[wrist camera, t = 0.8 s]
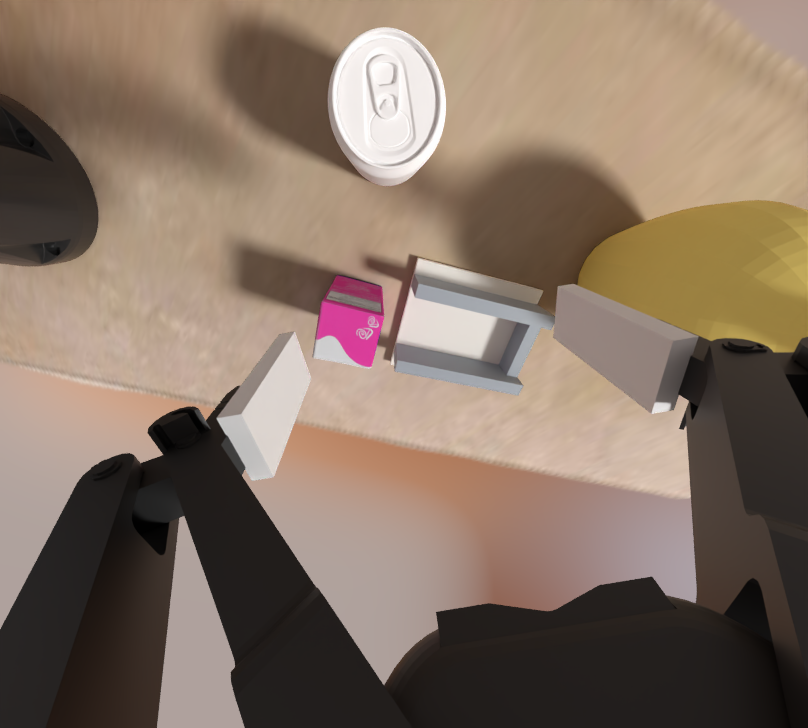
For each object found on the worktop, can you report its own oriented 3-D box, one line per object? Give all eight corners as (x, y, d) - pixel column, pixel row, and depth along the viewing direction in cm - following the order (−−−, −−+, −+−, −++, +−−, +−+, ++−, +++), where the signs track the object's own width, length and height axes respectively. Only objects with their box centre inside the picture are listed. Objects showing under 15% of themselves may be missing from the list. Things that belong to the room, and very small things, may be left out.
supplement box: (374, 329, 39) (370, 372, 29) (328, 318, 38) (307, 358, 28) (384, 285, 37) (385, 316, 27) (336, 272, 36) (317, 299, 26)
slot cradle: (390, 361, 42) (391, 383, 36) (417, 257, 36) (423, 266, 30) (497, 382, 44) (512, 406, 39) (539, 289, 38) (564, 302, 33)
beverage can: (352, 190, 32) (337, 182, 21) (338, 90, 28) (310, 21, 18) (429, 182, 32) (450, 171, 22) (424, 82, 28) (448, 8, 18)
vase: (600, 356, 43) (890, 558, 18) (527, 285, 38) (799, 436, 13) (708, 264, 38) (1317, 374, 13) (642, 167, 33) (1454, 46, 8)
